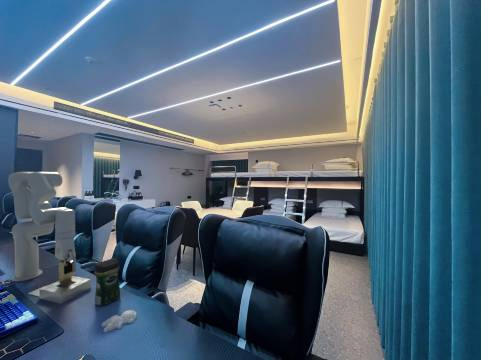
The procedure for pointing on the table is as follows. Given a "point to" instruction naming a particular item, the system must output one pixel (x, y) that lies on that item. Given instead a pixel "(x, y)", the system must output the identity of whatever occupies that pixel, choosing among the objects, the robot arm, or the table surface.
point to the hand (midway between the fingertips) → (65, 271)
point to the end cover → (64, 277)
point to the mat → (36, 292)
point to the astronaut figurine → (119, 320)
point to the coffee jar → (107, 282)
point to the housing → (64, 290)
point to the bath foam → (73, 266)
